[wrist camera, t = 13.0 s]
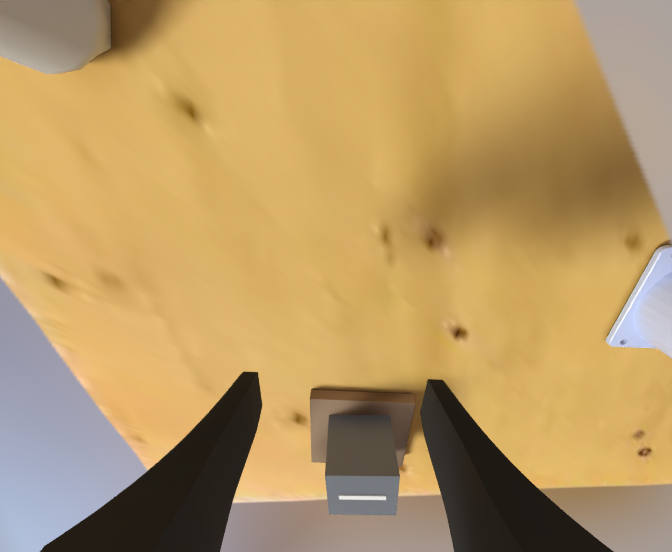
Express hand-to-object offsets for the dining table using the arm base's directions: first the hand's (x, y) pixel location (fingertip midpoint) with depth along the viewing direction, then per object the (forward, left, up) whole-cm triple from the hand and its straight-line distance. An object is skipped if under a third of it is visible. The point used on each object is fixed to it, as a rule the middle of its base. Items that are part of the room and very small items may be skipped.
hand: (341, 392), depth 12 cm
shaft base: (-2, +15, -9) cm, 18 cm away
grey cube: (-2, +15, -8) cm, 17 cm away
